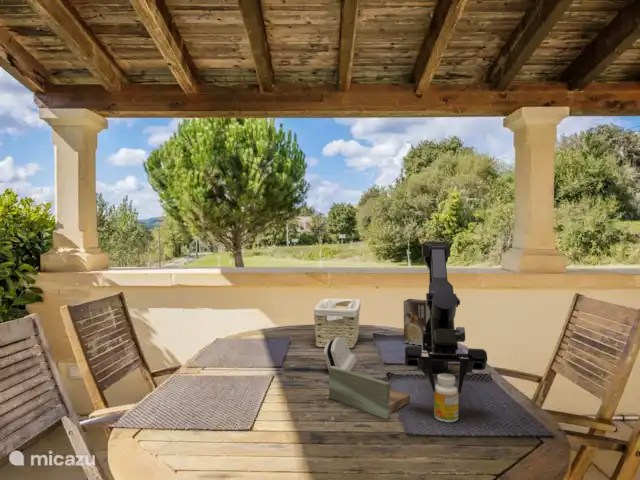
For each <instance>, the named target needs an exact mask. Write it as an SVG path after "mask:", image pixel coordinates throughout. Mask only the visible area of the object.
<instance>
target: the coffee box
mask: <svg viewBox="0 0 640 480" xmlns="http://www.w3.org/2000/svg"><path fill="white" fill-rule="evenodd" d="M429 318H430V310H429V306H426V299H415V298H409V299H406V300H403V344H405V343H409V344H408V345H412V344H415V345H414V346H418V345H421V347H422V337H423V331H425V325H426V323H427V321H428V319H429ZM425 345H427V344H425Z"/></svg>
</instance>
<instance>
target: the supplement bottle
mask: <svg viewBox="0 0 640 480" xmlns="http://www.w3.org/2000/svg"><path fill="white" fill-rule="evenodd" d="M436 378H437V379H436V381H437V383H435V392H433V395H434V397H433V398H434V399H433V401H434V403H433V408H434V409H433V416H434V419H436V420H438V421H440V422H443V421H444V422H443V423H454V422H456V421H458V419H459V391H458V385H456V376H455V375H454V374H451V373H444V372H442V373H438V374H437V376H436Z"/></svg>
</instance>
